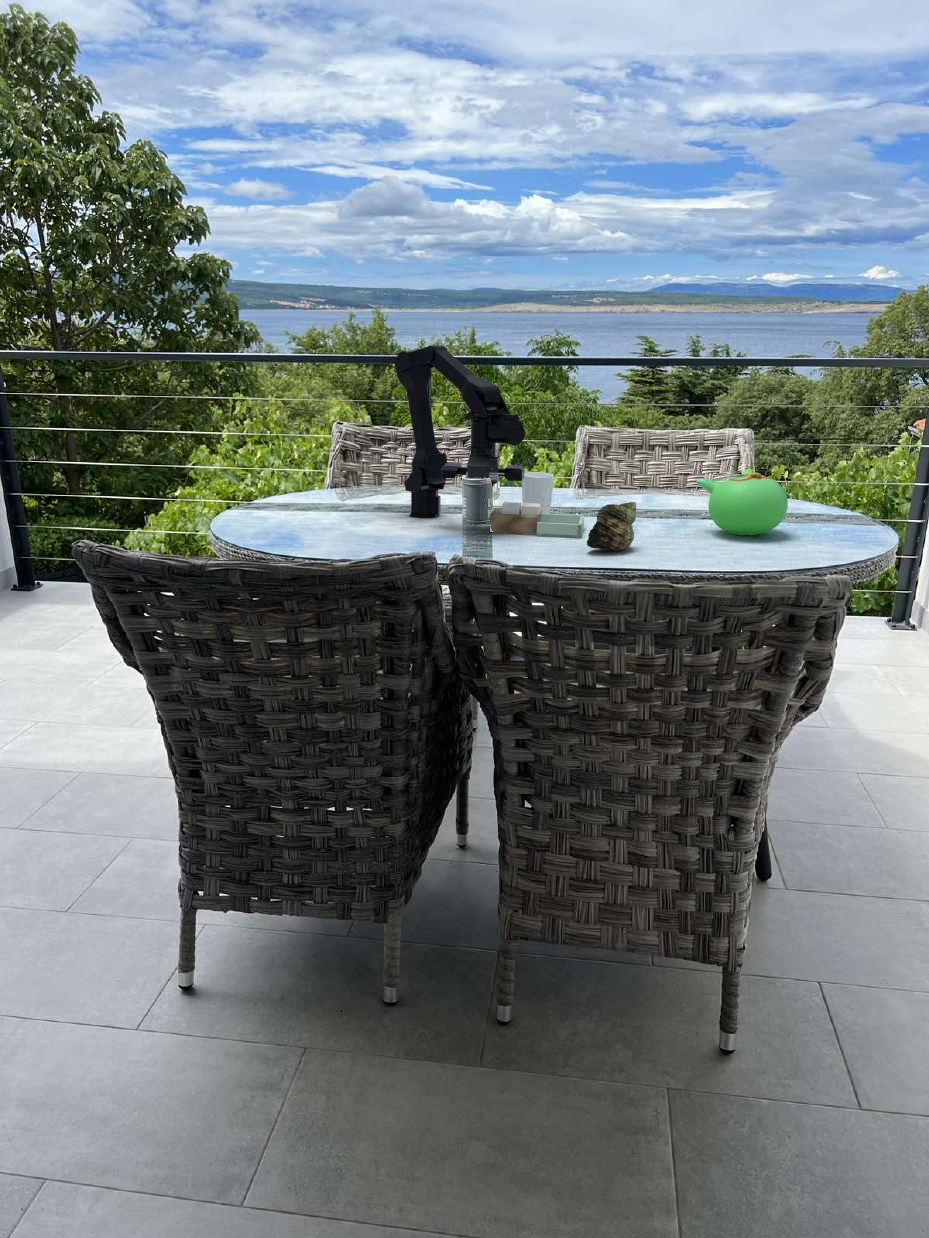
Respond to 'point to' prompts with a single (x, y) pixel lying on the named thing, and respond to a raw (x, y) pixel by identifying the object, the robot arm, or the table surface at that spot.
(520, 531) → the tan cardboard slab
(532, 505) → the tile
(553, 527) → the tray
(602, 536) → the seashell
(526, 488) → the white cup
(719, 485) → the green teapot
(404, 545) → the table surface
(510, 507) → the tile
